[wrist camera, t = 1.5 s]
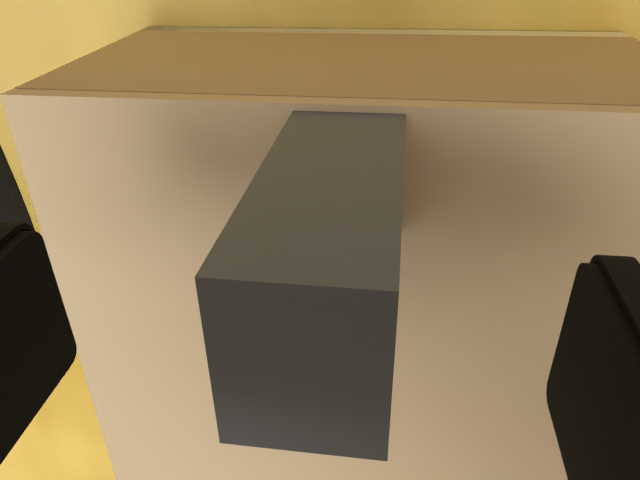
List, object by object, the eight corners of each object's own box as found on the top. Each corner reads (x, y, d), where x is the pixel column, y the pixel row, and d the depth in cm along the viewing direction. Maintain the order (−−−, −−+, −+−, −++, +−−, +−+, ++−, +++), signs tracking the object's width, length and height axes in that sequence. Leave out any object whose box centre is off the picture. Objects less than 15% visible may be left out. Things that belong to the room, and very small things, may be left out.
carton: (541, 367, 32) (587, 537, 23) (198, 338, 34) (127, 481, 26) (623, 32, 23) (748, 107, 14) (149, 26, 25) (14, 88, 17)
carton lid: (588, 539, 23) (668, 831, 16) (126, 483, 26) (12, 712, 18) (751, 109, 14) (1115, 328, 7) (12, 88, 17) (-302, 232, 9)
